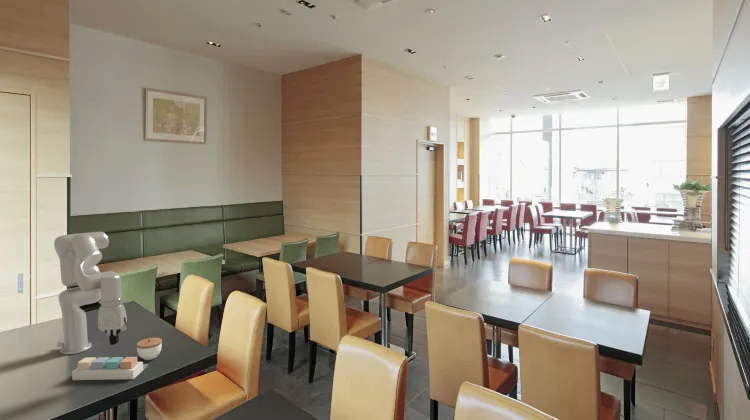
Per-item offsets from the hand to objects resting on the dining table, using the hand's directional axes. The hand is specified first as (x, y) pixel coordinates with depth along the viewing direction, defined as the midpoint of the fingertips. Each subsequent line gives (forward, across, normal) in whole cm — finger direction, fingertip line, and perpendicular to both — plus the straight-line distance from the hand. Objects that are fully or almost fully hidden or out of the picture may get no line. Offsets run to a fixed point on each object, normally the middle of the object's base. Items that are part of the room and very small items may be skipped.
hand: (114, 343), depth 172 cm
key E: (+12, -12, 0) cm, 17 cm away
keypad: (+14, -3, +2) cm, 15 cm away
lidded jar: (+15, +6, +17) cm, 23 cm away
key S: (+12, -6, 0) cm, 14 cm away
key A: (+13, +6, 0) cm, 14 cm away
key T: (+12, 0, 0) cm, 12 cm away
